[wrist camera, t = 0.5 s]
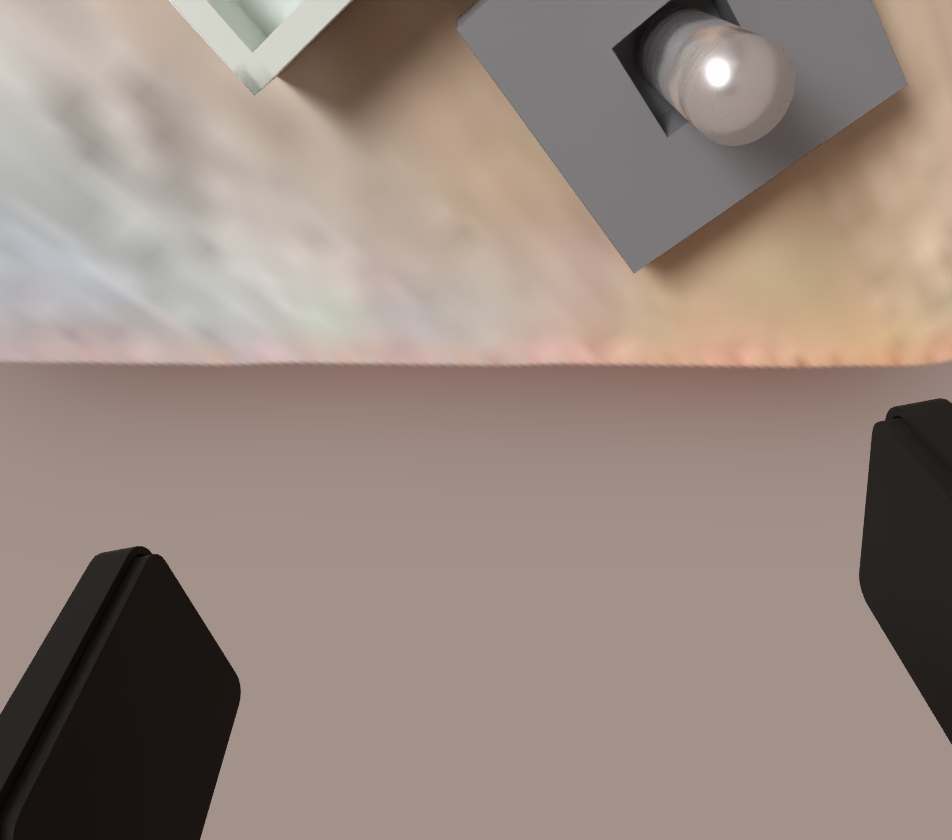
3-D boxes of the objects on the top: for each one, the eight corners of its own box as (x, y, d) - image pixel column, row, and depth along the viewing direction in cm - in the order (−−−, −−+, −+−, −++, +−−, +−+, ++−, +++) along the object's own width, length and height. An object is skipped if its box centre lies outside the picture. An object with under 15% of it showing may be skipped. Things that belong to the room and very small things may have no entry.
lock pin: (685, -15, 28) (766, 11, 20) (723, 53, 29) (812, 101, 22) (618, 40, 29) (672, 84, 21) (658, 104, 30) (721, 166, 23)
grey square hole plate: (733, -235, 25) (763, -252, 22) (871, 70, 30) (907, 84, 28) (457, 19, 29) (456, 29, 26) (621, 247, 34) (633, 273, 32)
